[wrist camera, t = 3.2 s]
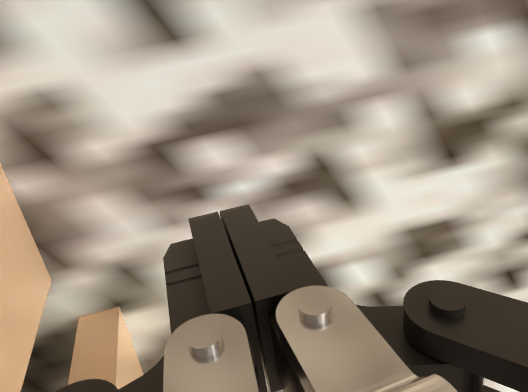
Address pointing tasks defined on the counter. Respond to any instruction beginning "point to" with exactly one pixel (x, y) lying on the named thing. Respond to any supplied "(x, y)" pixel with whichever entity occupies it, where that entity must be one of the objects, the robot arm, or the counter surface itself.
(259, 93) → the counter surface
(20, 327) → the tile
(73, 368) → the tile
